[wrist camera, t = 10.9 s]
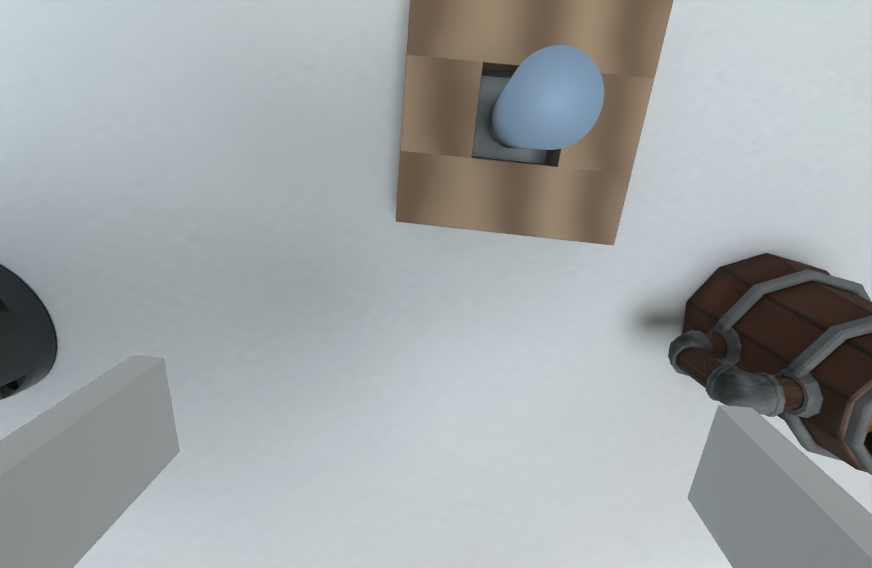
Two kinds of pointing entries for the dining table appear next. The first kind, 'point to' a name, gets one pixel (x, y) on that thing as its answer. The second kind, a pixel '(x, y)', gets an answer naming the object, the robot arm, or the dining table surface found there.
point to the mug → (786, 351)
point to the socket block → (501, 56)
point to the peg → (548, 100)
